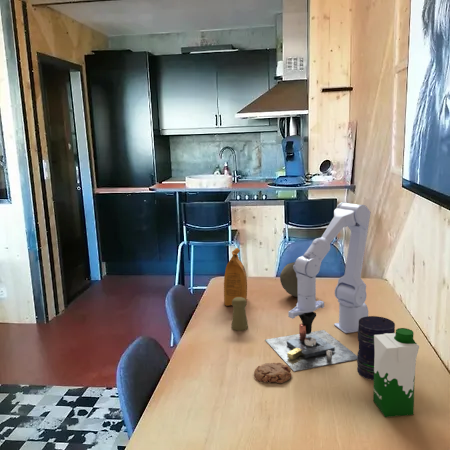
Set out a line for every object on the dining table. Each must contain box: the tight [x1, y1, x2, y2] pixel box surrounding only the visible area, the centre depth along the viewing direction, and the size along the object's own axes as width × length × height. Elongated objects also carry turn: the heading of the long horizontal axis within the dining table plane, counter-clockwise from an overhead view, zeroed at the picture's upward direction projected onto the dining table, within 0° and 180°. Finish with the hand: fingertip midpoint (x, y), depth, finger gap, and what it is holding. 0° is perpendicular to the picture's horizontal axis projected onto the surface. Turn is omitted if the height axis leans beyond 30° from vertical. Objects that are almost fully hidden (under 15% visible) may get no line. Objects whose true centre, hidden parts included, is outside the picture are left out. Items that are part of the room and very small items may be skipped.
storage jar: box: [356, 315, 396, 382], centre depth 127 cm, size 10×10×15 cm
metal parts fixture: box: [287, 323, 335, 360], centre depth 142 cm, size 15×11×6 cm
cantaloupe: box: [279, 261, 298, 298], centre depth 189 cm, size 14×14×15 cm
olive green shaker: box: [231, 297, 249, 332], centre depth 161 cm, size 6×6×11 cm
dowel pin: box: [326, 350, 332, 361], centre depth 136 cm, size 2×2×3 cm
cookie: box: [253, 362, 293, 384], centre depth 128 cm, size 10×11×3 cm
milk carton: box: [372, 327, 420, 418], centre depth 110 cm, size 9×9×20 cm
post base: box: [264, 329, 358, 373], centre depth 143 cm, size 22×22×3 cm
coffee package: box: [223, 247, 248, 307], centre depth 185 cm, size 10×12×22 cm
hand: (306, 333), depth 148 cm, fingers closed, pressing on metal parts fixture
